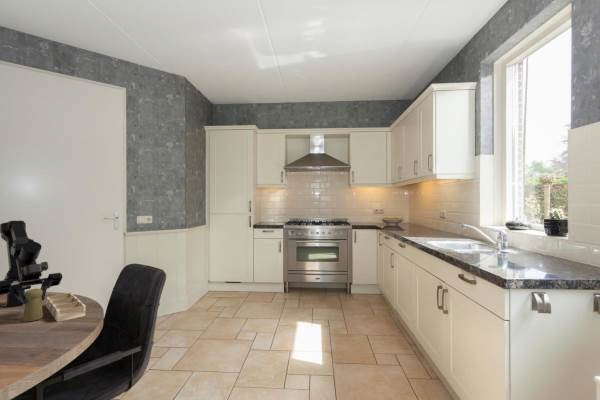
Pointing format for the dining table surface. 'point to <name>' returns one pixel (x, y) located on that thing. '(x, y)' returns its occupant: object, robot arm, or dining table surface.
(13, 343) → the dining table surface
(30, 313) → the cork
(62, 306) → the wooden compartment tray
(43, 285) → the robot arm
